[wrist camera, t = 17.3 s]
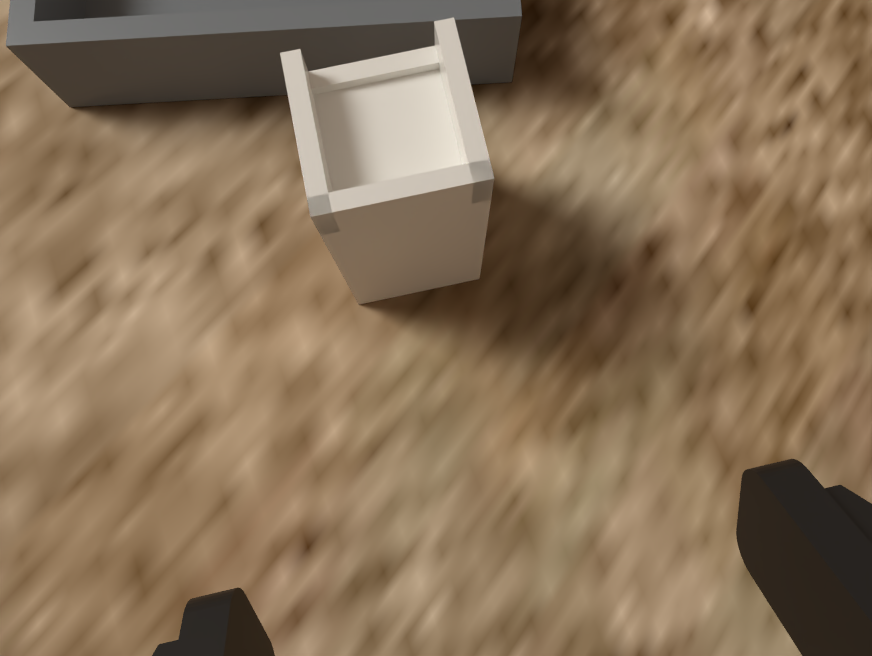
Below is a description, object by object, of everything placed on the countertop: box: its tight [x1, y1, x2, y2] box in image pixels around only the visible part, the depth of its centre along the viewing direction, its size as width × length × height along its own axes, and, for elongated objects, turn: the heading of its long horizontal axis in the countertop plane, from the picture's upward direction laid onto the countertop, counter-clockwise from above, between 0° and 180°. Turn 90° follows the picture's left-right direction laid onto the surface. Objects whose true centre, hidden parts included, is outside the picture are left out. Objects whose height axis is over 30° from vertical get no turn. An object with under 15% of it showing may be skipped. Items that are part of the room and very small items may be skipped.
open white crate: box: [280, 17, 494, 305], centre depth 24 cm, size 5×5×10 cm
